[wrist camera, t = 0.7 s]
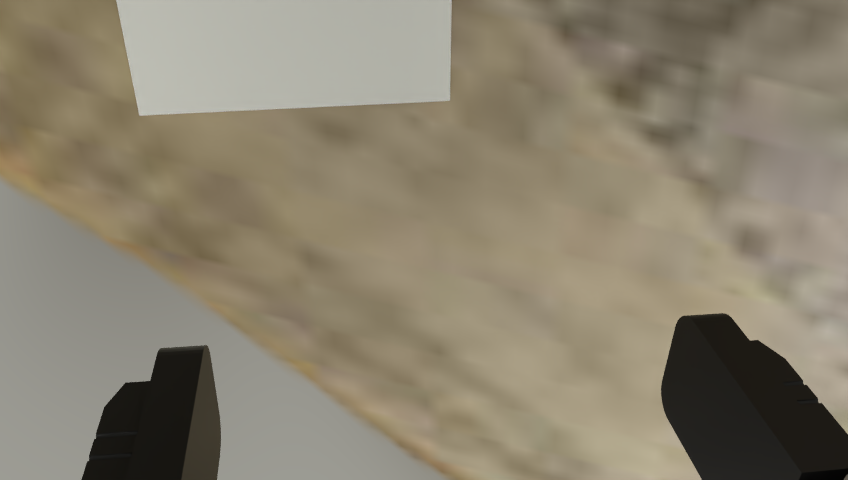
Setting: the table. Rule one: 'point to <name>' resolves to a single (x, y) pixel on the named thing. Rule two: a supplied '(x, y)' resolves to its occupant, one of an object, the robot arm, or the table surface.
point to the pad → (285, 53)
